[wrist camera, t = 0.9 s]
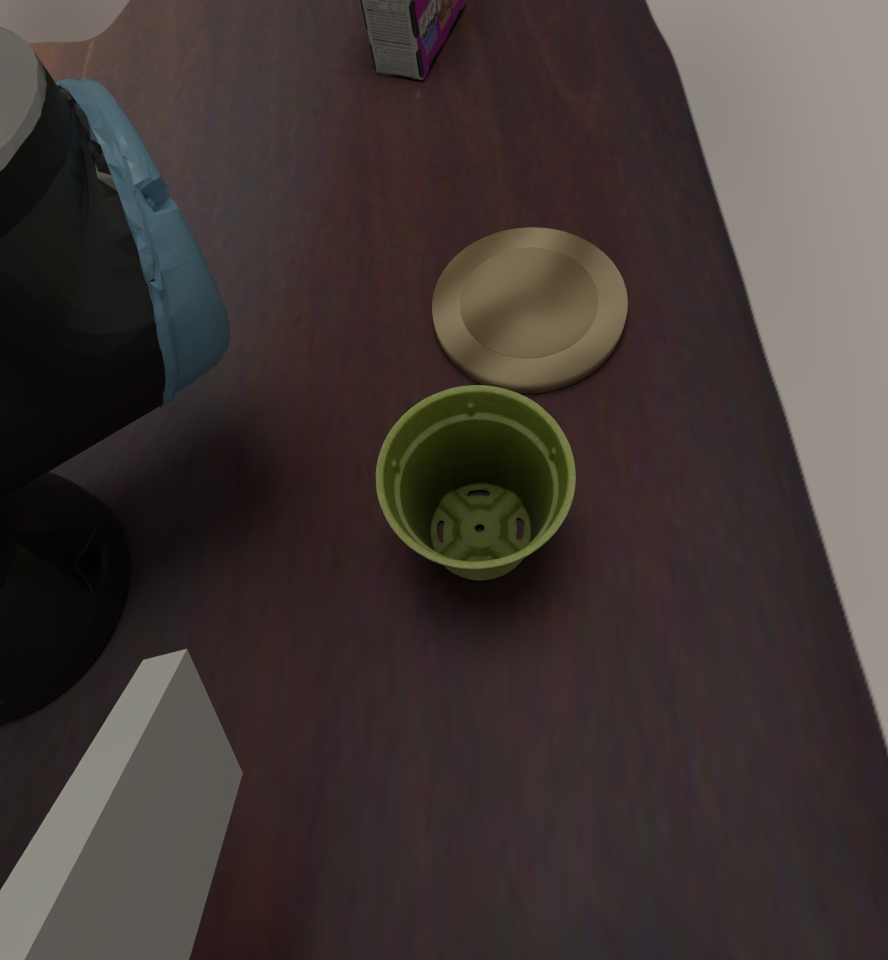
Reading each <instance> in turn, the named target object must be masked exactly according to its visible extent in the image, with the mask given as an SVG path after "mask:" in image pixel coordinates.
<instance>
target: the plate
mask: <svg viewBox="0 0 888 960" xmlns="http://www.w3.org/2000/svg"><path fill="white" fill-rule="evenodd" d="M627 307H628V299H627V291H626V287H625V284H624V281H623V279H622V277H621V275H620V272H619V271H618V269H617V268H616V266H615V265H614V263H613V262H612V261H611V260H610V259H609V258H608V257H607V255H606V254H604V253H603V252H602V251H601V250H600V249H598V248H597V247H596V246H594V245H593V244H591V243H589V242H588V241H586V240H584V239H582V238H580V237H578V236H575V235H572V234H570V233H567V232H563V231H559V230H555V229H547V228H531V227H530V228H517V229H511V230H506V231H502V232H498V233H495V234H492V235H489V236H487V237H484V238H482V239H480V240H478V241H476V242H474V243H473V244H471V245H470V246H468V247H467V248H465V249H464V250H462V251H461V252H460V253H459V254H458V255H456V256H455V257H454V259H453V260H452V261H451V262H450V263H449V264H448V265H447V267H446V268H445V269H444V271H443V272H442V274H441V276H440V278H439V280H438V282H437V285H436V287H435V290H434V295H433V300H432V314H433V321H434V327H435V332H436V335H437V339H438V342H439V344H440V346H441V348H442V350H443V352H444V353H445V355H446V356H447V358H448V359H449V360H450V361H451V362H452V364H453V365H454V366H455V367H456V368H457V369H459V370H460V371H461V372H462V373H464V374H465V375H466V376H468V377H469V378H471V379H473V380H474V381H476V382H478V383H480V384H483V385H486V386H494V387H499V388H503V389H507V390H510V391H513V392H516V393H522V394H530V393H543V392H549V391H554V390H558V389H561V388H565V387H567V386H570V385H572V384H575V383H577V382H579V381H581V380H582V379H584V378H586V377H588V376H589V375H591V374H592V373H593V372H595V371H596V370H597V369H598V368H599V367H601V366H602V365H603V364H604V363H605V362H606V361H607V359H608V358H609V357H610V356H611V354H612V353H613V351H614V350H615V348H616V346H617V344H618V343H619V340H620V337H621V335H622V332H623V328H624V324H625V320H626V315H627Z"/></svg>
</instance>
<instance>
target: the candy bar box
mask: <svg viewBox="0 0 888 960" xmlns="http://www.w3.org/2000/svg"><path fill="white" fill-rule="evenodd" d="M465 4H466V0H361V5H362V10H363V15H364V19H365V24H366V29H367V34H368V39H369V43H370V48H371V53H372V57H373V62H374V66H375V71H376V73H378V74H382V75H386V76H395V77H402V78H409V79H414V80H422V81H423V80H424V79H425V78H426V76H427V74H428V72H429V70H430V68H431V67H432V65H433V63H434V61H435V59H436V57H437V55H438V54H439V52H440V50H441V48H442V46H443V44H444V42H445V40H446V38H447V37H448V35H449V33H450V31H451V29H452V28H453V26H454V24H455V22H456V20H457V19H458V17H459V15H460V13H461V11H462V10H463V8H464V6H465Z"/></svg>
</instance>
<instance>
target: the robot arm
mask: <svg viewBox="0 0 888 960" xmlns="http://www.w3.org/2000/svg"><path fill="white" fill-rule="evenodd" d="M229 340H230V327H229V321H228V317H227V313H226V310H225V307H224V304H223V301H222V298H221V296H220V293H219V290H218V288H217V285H216V283H215V281H214V278H213V276H212V274H211V271H210V269H209V267H208V265H207V263H206V260H205V258H204V256H203V254H202V252H201V250H200V248H199V245H198V243H197V241H196V239H195V237H194V235H193V233H192V231H191V229H190V227H189V225H188V223H187V222H186V220H185V218H184V216H183V214H182V212H181V210H180V208H179V207H178V206H177V204H176V203H175V202H174V201H173V200H172V199H171V197H170V196H169V190H168V188H167V186H166V184H165V183H164V181H163V179H162V177H161V175H160V173H159V170H158V168H157V166H156V164H155V161H154V160H153V158H152V156H151V154H150V153H149V151H148V149H147V147H146V146H145V144H144V143H143V141H142V139H141V138H140V136H139V134H138V133H137V131H136V129H135V128H134V126H133V125H132V123H131V121H130V120H129V118H128V117H127V115H126V114H125V112H124V111H123V109H122V108H121V107H120V105H119V104H118V103H117V101H116V100H115V99H114V98H113V96H112V95H111V94H110V93H109V92H108V91H107V89H106V88H105V87H104V86H103V85H101V84H100V83H98V82H96V81H94V80H91V79H88V78H85V79H80V80H77V81H76V80H73V79H70V78H66V79H64V80H63V81H62V80H60V81H58V82H56V83H55V82H54V80H53V79H52V77H51V76H50V74H49V73H48V71H47V70H46V68H45V67H44V65H43V64H42V62H41V61H40V59H39V58H38V56H37V55H36V53H35V52H34V51H33V50H32V48H31V47H30V46H29V45H28V43H27V42H26V41H25V40H24V39H22V38H21V37H19V36H18V35H16V34H15V33H14V32H12V31H9V30H7V29H5V28H2V27H0V724H3V723H7V722H10V721H13V720H16V719H18V718H21V717H23V716H26V715H28V714H30V713H32V712H34V711H36V710H38V709H40V708H41V707H43V706H44V705H46V704H48V703H49V702H51V701H52V700H54V699H55V698H56V697H58V696H59V695H60V694H62V693H63V692H64V691H65V690H67V689H68V688H69V687H70V686H71V685H72V684H73V683H75V682H76V681H77V680H78V679H79V678H80V677H81V676H82V675H83V673H84V672H85V671H86V670H87V669H88V668H89V667H90V666H91V664H92V663H93V662H94V660H95V659H96V658H97V657H98V655H99V654H100V652H101V651H102V649H103V648H104V646H105V645H106V643H107V641H108V640H109V638H110V636H111V634H112V632H113V631H114V628H115V626H116V624H117V622H118V619H119V617H120V614H121V612H122V609H123V605H124V602H125V598H126V594H127V589H128V583H129V568H130V564H129V553H128V547H127V542H126V539H125V535H124V532H123V530H122V528H121V526H120V524H119V522H118V520H117V518H116V517H115V515H114V514H113V513H112V511H111V510H110V509H109V508H108V507H107V506H106V505H105V504H104V503H103V502H102V501H101V500H100V499H99V498H97V497H96V496H94V495H93V494H91V493H90V492H88V491H87V490H85V489H83V488H82V487H80V486H79V485H77V484H75V483H74V482H72V481H70V480H68V479H66V478H64V477H61V476H59V475H56V474H53V473H50V472H49V471H50V470H52V469H54V468H55V467H57V466H59V465H61V464H62V463H64V462H66V461H67V460H69V459H71V458H72V457H74V456H76V455H78V454H79V453H81V452H83V451H84V450H86V449H88V448H89V447H91V446H93V445H95V444H96V443H98V442H100V441H101V440H103V439H105V438H106V437H108V436H110V435H111V434H113V433H115V432H117V431H118V430H120V429H122V428H123V427H125V426H127V425H128V424H130V423H132V422H134V421H135V420H137V419H139V418H140V417H142V416H144V415H145V414H147V413H149V412H151V411H152V410H154V409H156V408H157V407H159V406H160V407H163V406H165V405H167V403H169V402H171V401H172V399H173V398H174V396H175V394H176V393H177V392H179V391H180V390H181V389H183V388H184V387H186V386H187V385H189V384H190V383H192V382H193V381H194V380H196V379H197V378H199V377H200V376H202V375H203V374H205V373H206V372H207V371H209V370H210V369H212V368H213V367H215V366H216V365H217V364H218V362H219V361H220V360H221V359H222V358H223V355H224V353H225V352H226V350H227V348H228V345H229ZM242 774H243V773H242V771H241V768H240V766H239V764H238V762H237V759H236V757H235V755H234V753H233V750H232V748H231V746H230V744H229V741H228V739H227V737H226V735H225V733H224V730H223V728H222V726H221V724H220V721H219V719H218V717H217V715H216V712H215V710H214V708H213V706H212V703H211V701H210V699H209V697H208V694H207V692H206V690H205V688H204V686H203V683H202V681H201V679H200V677H199V674H198V672H197V670H196V668H195V665H194V663H193V661H192V659H191V656H190V654H189V652H188V650H187V649H185V650H181V651H177V652H173V653H169V654H165V655H161V656H157V657H153V658H149V659H145V660H143V661H142V662H141V664H140V666H139V667H138V669H137V671H136V672H135V674H134V675H133V677H132V679H131V680H130V682H129V683H128V685H127V687H126V688H125V690H124V692H123V693H122V695H121V696H120V698H119V700H118V701H117V703H116V704H115V706H114V708H113V709H112V711H111V713H110V714H109V716H108V717H107V719H106V721H105V722H104V724H103V725H102V727H101V729H100V730H99V732H98V734H97V735H96V737H95V738H94V740H93V742H92V743H91V745H90V746H89V748H88V750H87V751H86V753H85V755H84V756H83V758H82V759H81V761H80V763H79V764H78V766H77V767H76V769H75V771H74V772H73V774H72V776H71V777H70V779H69V780H68V782H67V784H66V785H65V787H64V788H63V790H62V792H61V793H60V795H59V797H58V798H57V800H56V801H55V803H54V805H53V806H52V808H51V809H50V811H49V813H48V814H47V816H46V818H45V819H44V821H43V822H42V824H41V826H40V827H39V829H38V830H37V832H36V834H35V835H34V837H33V839H32V840H31V842H30V843H29V845H28V847H27V848H26V850H25V851H24V853H23V855H22V856H21V858H20V860H19V861H18V863H17V864H16V866H15V868H14V869H13V871H12V872H11V874H10V876H9V877H8V879H7V881H6V882H5V884H4V885H3V887H2V889H1V890H0V960H189V958H190V955H191V951H192V948H193V944H194V941H195V937H196V934H197V930H198V927H199V923H200V920H201V916H202V913H203V909H204V906H205V902H206V899H207V896H208V892H209V889H210V885H211V882H212V878H213V875H214V871H215V868H216V864H217V861H218V857H219V854H220V850H221V847H222V843H223V840H224V836H225V833H226V829H227V826H228V823H229V819H230V816H231V812H232V809H233V805H234V802H235V798H236V795H237V791H238V788H239V784H240V781H241V777H242Z"/></svg>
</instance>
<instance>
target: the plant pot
mask: <svg viewBox="0 0 888 960" xmlns="http://www.w3.org/2000/svg"><path fill="white" fill-rule="evenodd" d="M575 482H576V472H575V464H574V458H573V454H572V451H571V448H570V445H569V443H568V440H567V438H566V437H565V435H564V433H563V431H562V430H561V428H560V427H559V425H558V424H557V423H556V421H555V420H554V419H553V418H552V417H551V416H550V415H549V414H548V413H547V412H546V411H545V410H544V409H543V408H542V407H540V406H539V405H538V404H537V403H535V402H533V401H532V400H530V399H529V398H527V397H525V396H523V395H521V394H519V393H516V392H513V391H510V390H507V389H503V388H499V387H494V386H486V385H472V386H461V387H456V388H451V389H448V390H445V391H442V392H439V393H437V394H434V395H432V396H430V397H428V398H426V399H424V400H422V401H421V402H419V403H418V404H416V405H415V406H414V407H412V408H411V409H409V410H408V411H407V412H406V413H405V414H404V415H403V416H402V417H401V418H400V419H399V420H398V421H397V423H396V424H395V425H394V426H393V428H392V429H391V430H390V432H389V433H388V435H387V437H386V439H385V441H384V443H383V445H382V448H381V451H380V454H379V458H378V462H377V468H376V489H377V495H378V499H379V503H380V506H381V508H382V511H383V513H384V515H385V517H386V519H387V521H388V523H389V524H390V526H391V527H392V529H393V530H394V532H395V533H396V534H397V535H398V536H399V537H400V539H401V540H402V541H403V542H404V543H405V544H407V545H408V546H409V547H410V548H411V549H413V550H414V551H415V552H417V553H418V554H420V555H422V556H423V557H425V558H427V559H429V560H431V561H433V562H436V563H438V564H441V565H443V566H444V567H445V568H447V569H448V570H449V571H451V572H452V573H454V574H456V575H458V576H460V577H463V578H467V579H470V580H490V579H494V578H498V577H501V576H503V575H505V574H507V573H509V572H510V571H512V570H513V569H514V568H515V567H517V566H518V565H519V564H520V563H521V561H522V560H523V559H524V558H525V557H526V556H528V555H530V554H532V553H533V552H535V551H536V550H538V549H539V548H540V547H542V546H543V545H544V544H545V543H546V542H547V541H548V540H549V539H550V538H551V537H552V536H553V535H554V534H555V533H556V531H557V530H558V529H559V527H560V526H561V524H562V523H563V521H564V519H565V517H566V516H567V513H568V511H569V509H570V506H571V503H572V500H573V497H574V491H575ZM475 490H486V491H487V492H489V494H490V495H489V496H483V495H473V496H468V495H467V494H468V493H469V492H470V491H475ZM517 518H520V519H521V520H522V522H523V537H522V539H521V540H518V539H517V532H518V531H517V529H518V528H517V523H516V519H517ZM440 521H444V527H443V542H441V541H440V540H439V537H438V534H437V527H438V524H439V522H440ZM477 525H483V526H484V530H483V532H477V531H476V530H475V527H476V526H477Z"/></svg>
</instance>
